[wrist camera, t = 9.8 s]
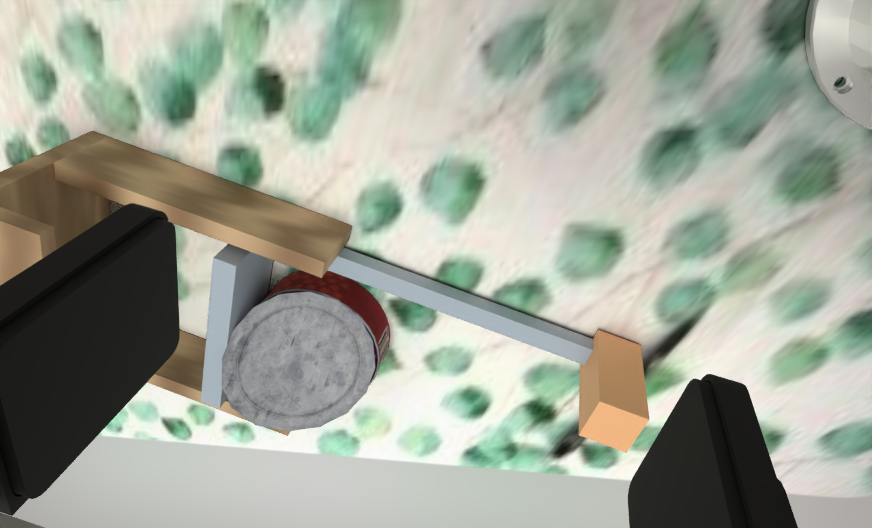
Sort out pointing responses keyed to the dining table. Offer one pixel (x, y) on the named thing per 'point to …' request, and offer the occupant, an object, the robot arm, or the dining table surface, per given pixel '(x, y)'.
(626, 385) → the pull rod
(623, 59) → the dining table surface
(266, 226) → the shelf lane
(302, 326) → the canned food
